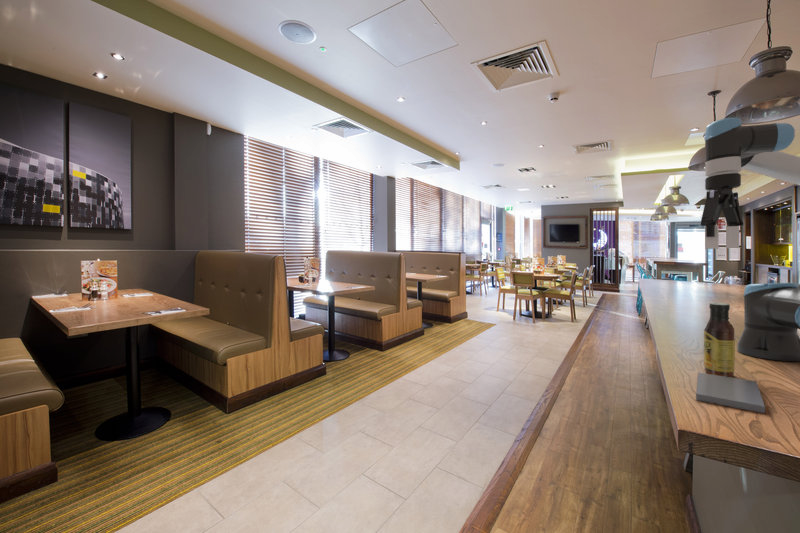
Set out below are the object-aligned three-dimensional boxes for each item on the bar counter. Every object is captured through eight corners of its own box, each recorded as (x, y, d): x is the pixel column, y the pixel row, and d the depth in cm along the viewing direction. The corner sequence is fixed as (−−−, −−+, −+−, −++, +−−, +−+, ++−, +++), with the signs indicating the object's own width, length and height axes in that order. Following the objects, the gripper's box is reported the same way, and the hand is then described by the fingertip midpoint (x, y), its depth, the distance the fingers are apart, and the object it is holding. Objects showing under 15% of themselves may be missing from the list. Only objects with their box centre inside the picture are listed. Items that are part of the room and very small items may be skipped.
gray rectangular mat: (697, 377, 93) (697, 372, 93) (756, 387, 86) (756, 381, 86) (696, 400, 80) (696, 393, 80) (764, 413, 73) (764, 406, 72)
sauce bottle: (703, 369, 100) (703, 301, 99) (733, 373, 96) (733, 302, 95) (704, 375, 95) (704, 303, 94) (736, 380, 91) (736, 305, 90)
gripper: (724, 180, 109) (724, 248, 109) (685, 174, 97) (685, 249, 98) (757, 175, 102) (757, 247, 103) (720, 168, 90) (720, 248, 91)
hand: (722, 248), depth 100 cm, fingers open, 13 cm apart
